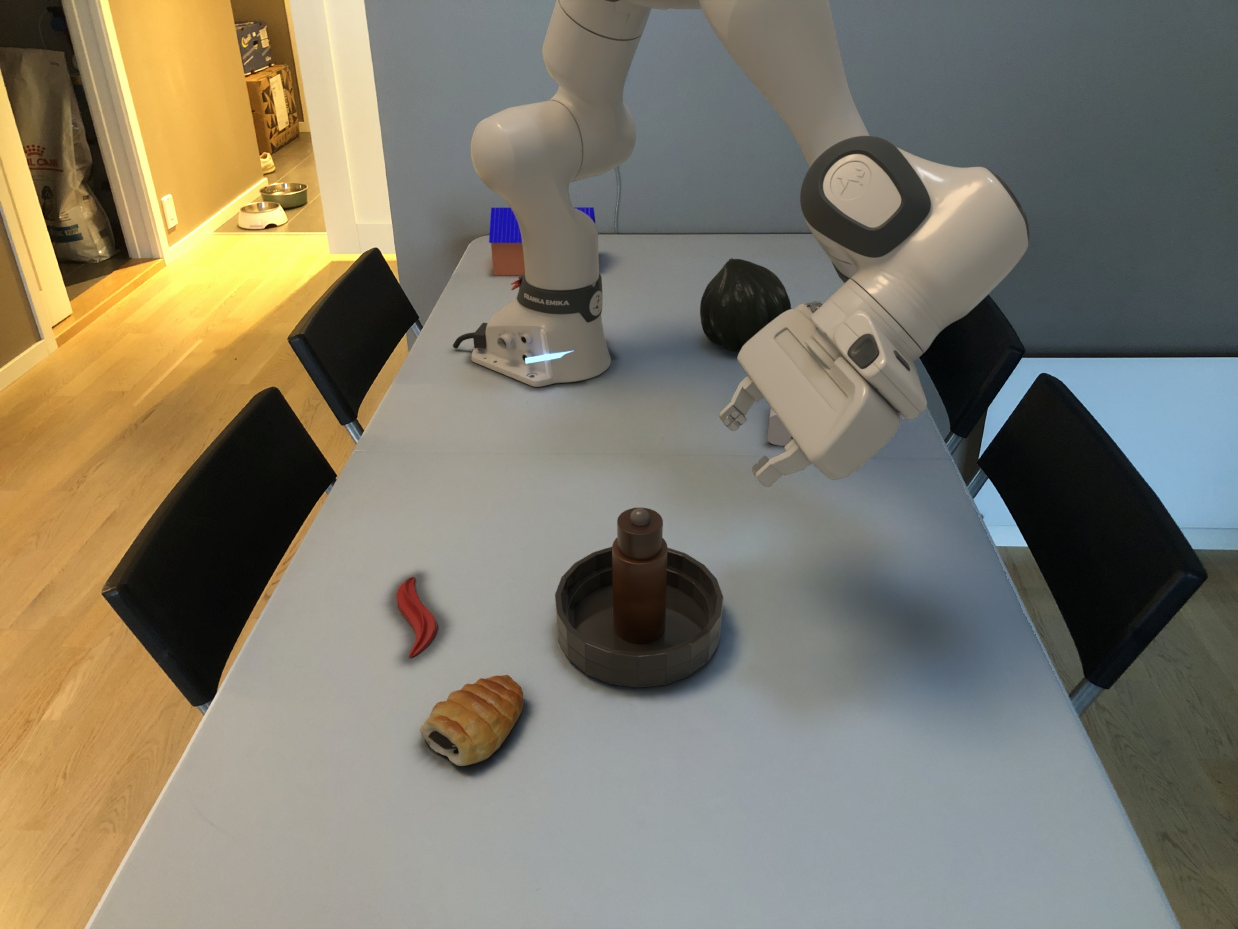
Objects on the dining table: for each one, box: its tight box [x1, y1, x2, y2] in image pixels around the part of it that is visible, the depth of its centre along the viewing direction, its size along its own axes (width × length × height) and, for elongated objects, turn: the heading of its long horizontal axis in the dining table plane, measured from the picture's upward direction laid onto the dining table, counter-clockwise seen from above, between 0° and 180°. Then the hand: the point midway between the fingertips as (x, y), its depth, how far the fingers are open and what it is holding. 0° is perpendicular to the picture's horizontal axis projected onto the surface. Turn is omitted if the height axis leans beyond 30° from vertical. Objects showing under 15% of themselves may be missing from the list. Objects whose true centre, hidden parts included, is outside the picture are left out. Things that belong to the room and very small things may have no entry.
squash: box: [699, 257, 792, 353], centre depth 140 cm, size 14×15×15 cm
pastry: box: [419, 674, 525, 767], centre depth 76 cm, size 9×7×4 cm
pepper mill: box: [611, 507, 669, 643], centre depth 83 cm, size 5×5×14 cm
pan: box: [554, 546, 724, 689], centre depth 85 cm, size 16×16×4 cm
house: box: [488, 206, 597, 276], centre depth 172 cm, size 12×20×12 cm, turn 89°
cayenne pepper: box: [396, 576, 438, 659], centre depth 88 cm, size 12×5×2 cm, turn 4°
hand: (741, 450), depth 77 cm, fingers open, 8 cm apart
